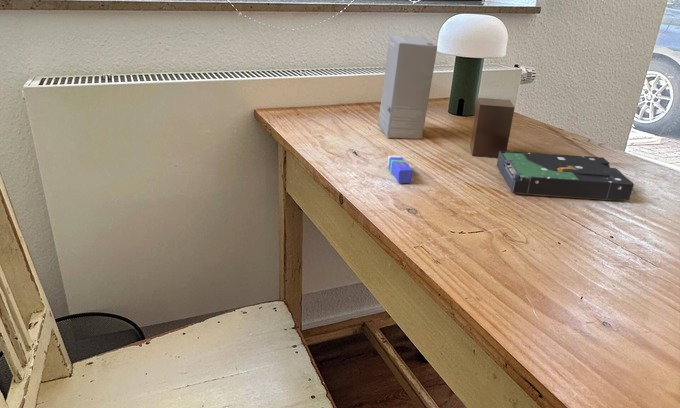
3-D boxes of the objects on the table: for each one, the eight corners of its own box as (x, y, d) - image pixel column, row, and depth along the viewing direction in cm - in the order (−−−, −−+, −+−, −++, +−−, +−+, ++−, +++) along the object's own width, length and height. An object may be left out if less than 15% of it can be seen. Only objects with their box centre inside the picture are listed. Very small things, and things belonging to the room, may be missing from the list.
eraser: (400, 167, 73) (401, 154, 72) (411, 183, 67) (413, 169, 66) (386, 168, 72) (387, 154, 71) (397, 184, 67) (398, 169, 66)
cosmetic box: (377, 125, 93) (383, 34, 86) (415, 125, 93) (425, 35, 87) (386, 139, 85) (394, 40, 78) (427, 139, 86) (439, 41, 79)
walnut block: (501, 148, 83) (510, 99, 80) (505, 158, 78) (514, 107, 75) (470, 146, 84) (477, 97, 80) (472, 155, 79) (480, 104, 76)
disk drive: (597, 174, 74) (494, 167, 74) (602, 156, 73) (498, 148, 73) (630, 204, 64) (511, 195, 65) (636, 183, 63) (515, 174, 64)
